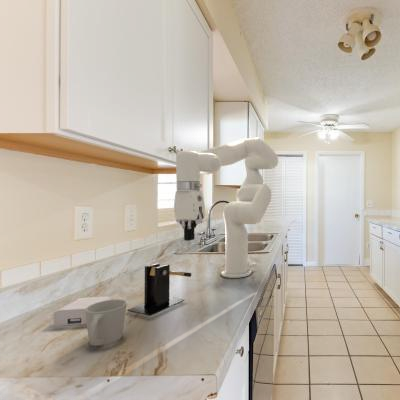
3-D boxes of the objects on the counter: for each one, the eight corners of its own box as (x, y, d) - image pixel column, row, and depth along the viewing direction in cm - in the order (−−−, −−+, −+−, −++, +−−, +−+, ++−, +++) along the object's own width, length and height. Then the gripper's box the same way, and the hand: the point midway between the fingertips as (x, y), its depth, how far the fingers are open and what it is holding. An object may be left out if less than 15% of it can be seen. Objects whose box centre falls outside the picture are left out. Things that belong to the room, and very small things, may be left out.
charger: (122, 304, 83) (94, 327, 69) (89, 306, 82) (53, 329, 67) (122, 289, 83) (95, 308, 69) (89, 290, 82) (53, 310, 67)
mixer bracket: (162, 299, 88) (162, 260, 88) (184, 303, 84) (184, 262, 84) (127, 314, 76) (127, 268, 77) (150, 319, 73) (150, 272, 73)
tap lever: (179, 277, 91) (180, 269, 92) (190, 278, 90) (192, 271, 90) (146, 274, 80) (148, 266, 80) (158, 276, 78) (160, 267, 79)
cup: (131, 333, 66) (131, 298, 66) (113, 356, 56) (113, 315, 56) (95, 336, 64) (95, 300, 64) (70, 361, 54) (70, 318, 54)
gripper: (213, 187, 95) (214, 239, 95) (180, 187, 100) (181, 237, 101) (197, 186, 88) (198, 243, 88) (163, 187, 93) (164, 240, 94)
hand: (189, 239), depth 94 cm, fingers closed
